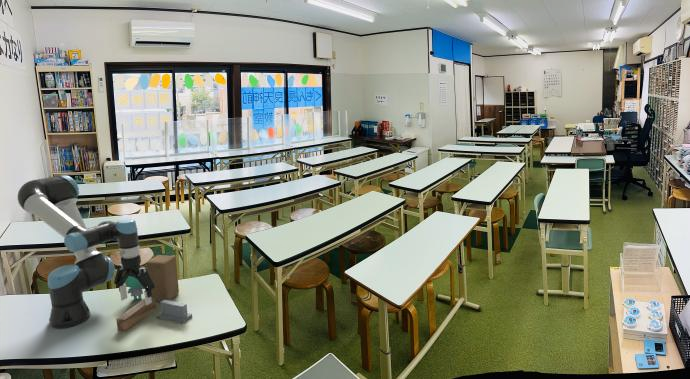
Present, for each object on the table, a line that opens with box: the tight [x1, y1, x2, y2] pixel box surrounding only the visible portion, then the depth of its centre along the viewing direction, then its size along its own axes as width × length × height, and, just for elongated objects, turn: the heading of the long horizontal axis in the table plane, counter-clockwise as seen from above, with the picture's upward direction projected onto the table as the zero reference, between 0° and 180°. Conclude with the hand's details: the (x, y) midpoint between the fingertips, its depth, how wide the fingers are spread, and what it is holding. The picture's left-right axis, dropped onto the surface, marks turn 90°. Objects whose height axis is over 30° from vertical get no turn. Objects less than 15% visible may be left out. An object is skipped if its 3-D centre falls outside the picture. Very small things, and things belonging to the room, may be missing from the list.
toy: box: [124, 266, 145, 301], centre depth 207 cm, size 9×8×15 cm
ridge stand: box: [156, 300, 193, 325], centre depth 191 cm, size 14×6×7 cm, turn 70°
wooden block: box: [145, 254, 180, 302], centre depth 208 cm, size 10×10×20 cm
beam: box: [115, 297, 157, 333], centre depth 189 cm, size 4×20×6 cm, turn 168°
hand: (136, 301), depth 188 cm, fingers open, 13 cm apart
